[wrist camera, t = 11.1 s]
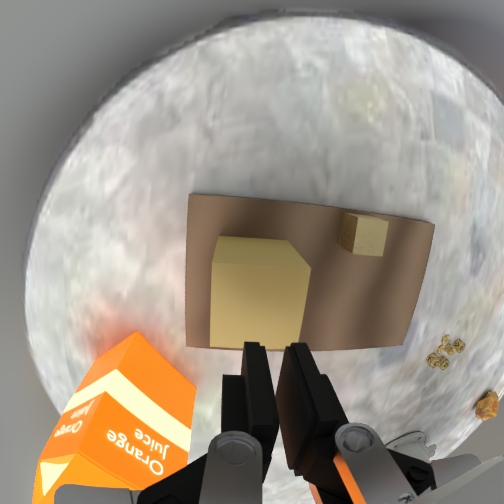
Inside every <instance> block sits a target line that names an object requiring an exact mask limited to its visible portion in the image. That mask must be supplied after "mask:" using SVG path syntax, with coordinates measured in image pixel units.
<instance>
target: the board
mask: <svg viewBox="0 0 504 504" xmlns="http://www.w3.org/2000/svg"><path fill="white" fill-rule="evenodd" d="M342 212H348V213H355V214H362V215H369V216H373V217H376V218H379V219H382V220H385V221H388V222H389V223H388V229H387V235H386V241H385V246H384V251H383V256H369V255H357V254H351V253H350V252H348V251H347V250H345V249H344V248H342V247H341V246H339V245H338V244H337V242H338V235H339V229H340V222H341V215H342ZM434 228H435V224H432V223H429V222H424V221H419V220H413V219H408V218H402V217H396V216H390V215H384V214H378V213H372V212H365V211H358V210H352V209H344V208H337V207H330V206H322V205H314V204H305V203H297V202H288V201H278V200H268V199H257V198H246V197H234V196H220V195H205V194H189V199H188V216H187V238H186V275H185V320H186V347H196V348H209V349H223V350H242V351H243V348H222V347H210V311H211V277H212V261H213V256H214V252H215V248H216V244H217V240H218V236H230V237H245V238H260V239H275V240H288V242H289V243H290V244H291V245H292V246H293V247H294V249H295V250H296V251H297V252H298V253H299V254H300V256H301V257H302V258H303V259H304V260H305V261H306V263H307V264H308V265H309V266H310V267H311V272H310V278H309V285H308V291H307V297H306V303H305V308H304V314H303V320H302V325H301V330H300V335H299V341H298V342H306V343H307V345H308V347H309V349H310V351H332V350H351V349H365V348H377V347H387V346H396V345H402V344H403V342H404V339H405V336H406V333H407V331H408V328H409V325H410V322H411V319H412V316H413V313H414V310H415V307H416V303H417V300H418V297H419V293H420V290H421V286H422V283H423V279H424V275H425V271H426V267H427V263H428V258H429V254H430V249H431V244H432V239H433V234H434ZM266 351H285V349H266Z"/></svg>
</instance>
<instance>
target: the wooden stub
mask: <svg viewBox="0 0 504 504" xmlns="http://www.w3.org/2000/svg"><path fill="white" fill-rule="evenodd" d="M388 223H389V222H388V221H385V220H382V219H379V218H376V217H373V216H369V215H362V214H355V213H348V212H342V215H341V222H340V229H339V235H338V242H337V244H338V245H339V246H341V247H342V248H344V249H345V250H347V251H348V252H350V253H351V254H357V255H369V256H383V251H384V246H385V241H386V235H387V229H388Z"/></svg>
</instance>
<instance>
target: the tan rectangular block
mask: <svg viewBox="0 0 504 504" xmlns="http://www.w3.org/2000/svg"><path fill="white" fill-rule="evenodd" d="M310 272H311V267H310V266H309V265H308V264H307V263H306V261H305V260H304V259H303V258H302V257H301V256H300V254H299V253H298V252H297V251H296V250H295V249H294V247H293V246H292V245H291V244H290V243H289V242H288V240H275V239H260V238H245V237H230V236H218V240H217V244H216V248H215V252H214V256H213V261H212V277H211V311H210V347H222V348H243V347H244V341H248V342H259V343H260V346H265V349H285V347H286V346H290V344H291V343H292V342H298V341H299V335H300V330H301V325H302V320H303V314H304V308H305V303H306V297H307V291H308V285H309V278H310Z"/></svg>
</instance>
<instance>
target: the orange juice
mask: <svg viewBox="0 0 504 504" xmlns="http://www.w3.org/2000/svg"><path fill="white" fill-rule="evenodd" d="M195 394H196V387H195V386H194V385H192V384H191V383H190V382H189V381H188V380H187V379H186V378H185V377H183V376H182V375H181V374H180V373H179V372H178V371H177V370H176V369H175V368H174V367H173V366H172V365H171V364H169V363H168V362H167V361H166V360H165V359H164V358H163V357H162V356H161V355H160V354H159V353H158V352H157V351H156V350H155V349H154V348H153V347H152V346H151V345H150V344H149V343H148V342H147V341H146V340H145V339H144V338H143V337H142V335H141V334H140V333H139V332H138V331H136V332H135V333H133V334H132V335H131V336H129V337H128V338H126V339H125V340H123V341H122V342H121V343H119V344H118V345H116V346H115V347H114V348H112V349H111V350H109V351H108V352H106V353H105V354H104V355H102V356H101V357H99V358H98V359H97V360H95V362H94V363H93V365H92V366H91V368H90V370H89V371H88V373H87V374H86V376H85V378H84V379H83V381H82V383H81V384H80V386H79V387H78V389H77V391H76V392H75V394H74V395H73V396H72V398H71V400H70V402H69V403H68V405H67V407H66V408H65V410H64V412H63V415H62V417H61V418H60V420H59V422H58V424H57V426H56V427H55V429H54V431H53V433H52V435H51V437H50V439H49V441H48V443H47V444H46V446H45V449H44V450H43V453H42V454H41V456H40V459H39V462H38V468H37V474H36V480H35V487H34V495H33V504H54V494H55V491H56V489H57V488H58V487H59V486H61V485H64V484H77V485H85V486H96V487H111V488H129V489H130V490H144V489H145V488H146V487H148V486H150V485H152V484H154V483H156V482H158V481H160V480H162V479H164V478H166V477H167V476H169V475H171V474H173V473H175V472H176V471H178V470H180V469H182V468H183V467H185V466H187V460H188V452H189V448H190V439H191V425H192V417H193V409H194V401H195Z"/></svg>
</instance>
